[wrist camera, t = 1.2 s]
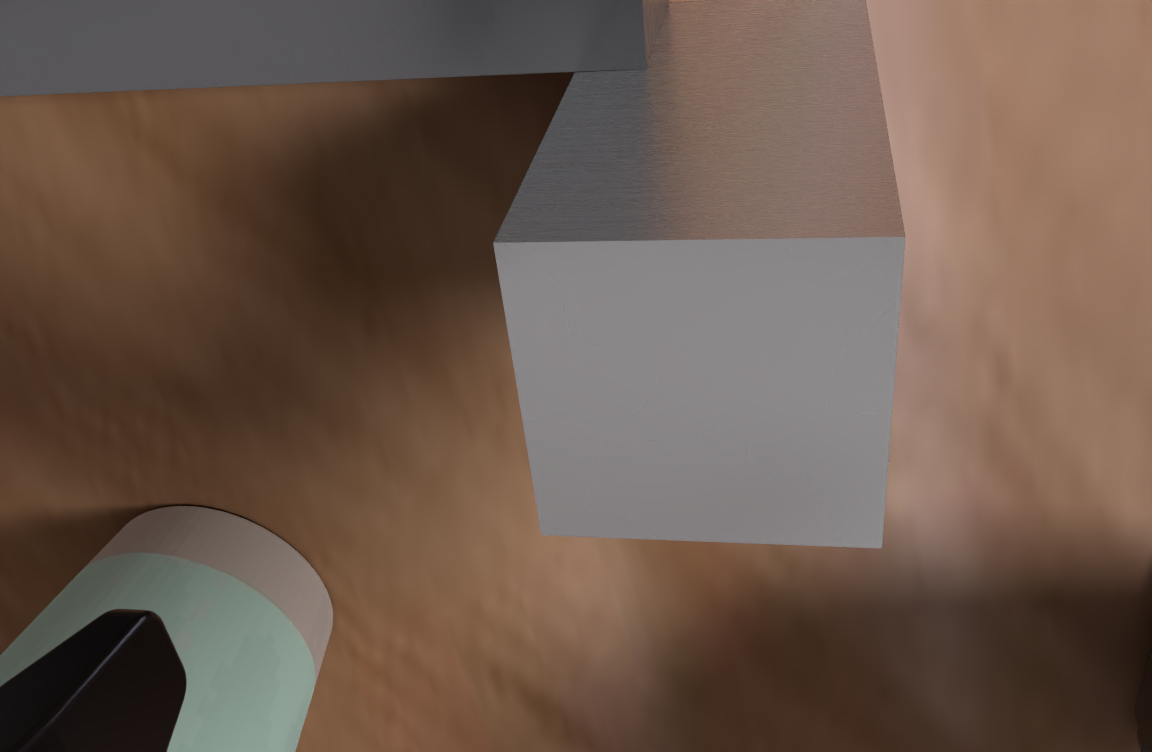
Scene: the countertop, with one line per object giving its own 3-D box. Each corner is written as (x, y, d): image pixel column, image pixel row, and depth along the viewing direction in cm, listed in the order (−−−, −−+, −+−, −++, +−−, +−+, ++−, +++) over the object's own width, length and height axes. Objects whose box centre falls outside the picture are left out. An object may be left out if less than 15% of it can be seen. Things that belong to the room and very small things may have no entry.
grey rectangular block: (864, -9, 17) (905, 237, 10) (853, 226, 19) (881, 548, 12) (606, 6, 17) (492, 242, 11) (625, 230, 20) (541, 535, 13)
